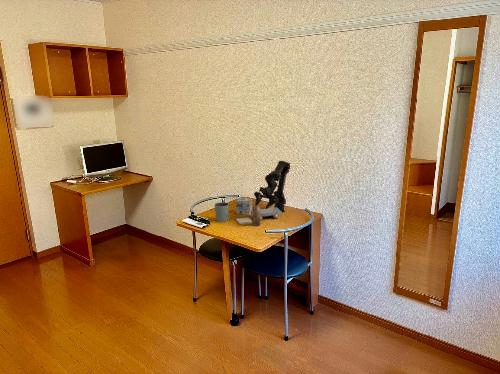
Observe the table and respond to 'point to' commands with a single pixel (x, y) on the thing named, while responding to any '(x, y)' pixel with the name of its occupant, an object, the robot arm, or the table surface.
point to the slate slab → (269, 212)
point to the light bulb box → (244, 206)
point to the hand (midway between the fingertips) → (260, 207)
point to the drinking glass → (221, 211)
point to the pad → (244, 220)
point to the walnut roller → (256, 215)
